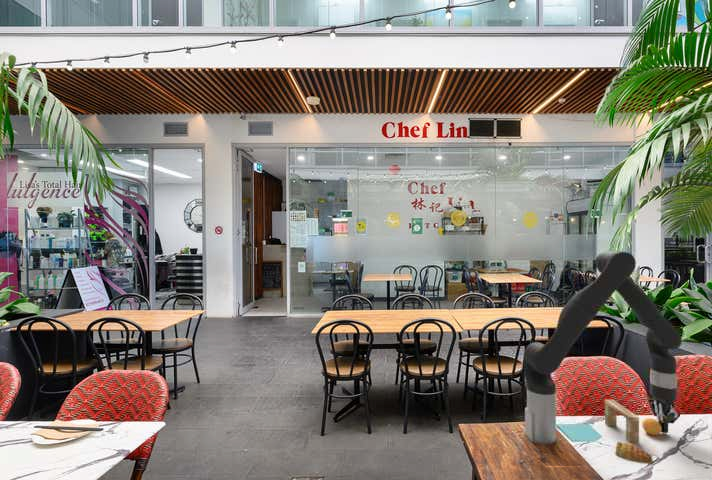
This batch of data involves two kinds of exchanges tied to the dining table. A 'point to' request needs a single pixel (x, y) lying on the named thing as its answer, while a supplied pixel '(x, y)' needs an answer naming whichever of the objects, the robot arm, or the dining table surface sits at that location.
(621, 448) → the pastry
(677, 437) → the dining table surface
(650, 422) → the ball
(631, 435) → the bridge
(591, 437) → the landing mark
